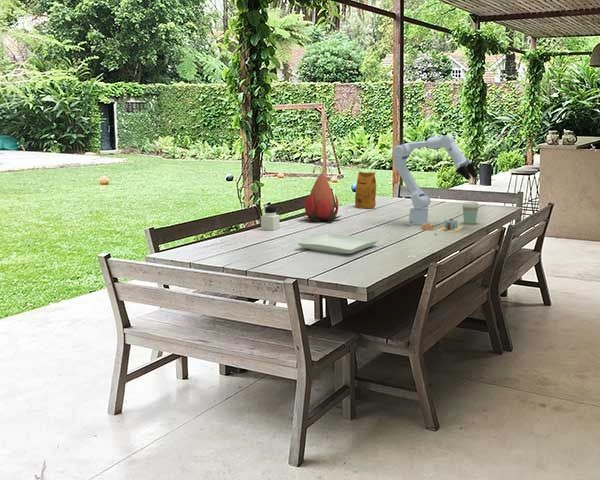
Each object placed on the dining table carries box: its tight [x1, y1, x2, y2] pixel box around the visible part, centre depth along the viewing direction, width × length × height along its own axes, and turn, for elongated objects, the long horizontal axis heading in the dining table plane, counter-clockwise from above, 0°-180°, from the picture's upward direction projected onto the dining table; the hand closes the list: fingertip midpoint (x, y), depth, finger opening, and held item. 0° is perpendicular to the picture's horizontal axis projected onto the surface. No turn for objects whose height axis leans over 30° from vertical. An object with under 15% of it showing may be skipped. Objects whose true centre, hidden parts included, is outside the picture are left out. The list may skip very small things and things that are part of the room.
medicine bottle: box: [260, 204, 281, 232], centre depth 354 cm, size 7×7×12 cm
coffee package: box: [354, 171, 377, 210], centre depth 426 cm, size 10×12×22 cm
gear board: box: [435, 223, 464, 233], centre depth 354 cm, size 11×18×4 cm, turn 159°
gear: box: [443, 217, 458, 229], centre depth 356 cm, size 6×6×4 cm
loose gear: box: [421, 222, 435, 231], centre depth 351 cm, size 6×6×4 cm
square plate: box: [297, 233, 379, 255], centre depth 311 cm, size 27×27×4 cm
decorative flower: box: [303, 164, 342, 223], centre depth 380 cm, size 22×23×30 cm
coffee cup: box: [462, 201, 480, 226], centre depth 367 cm, size 8×9×12 cm
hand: (472, 178), depth 347 cm, fingers open, 7 cm apart
